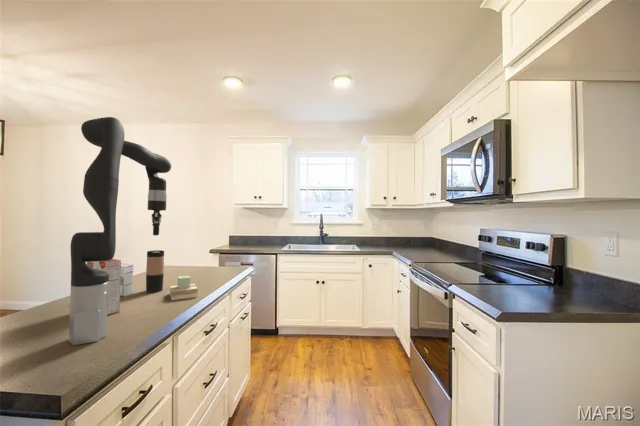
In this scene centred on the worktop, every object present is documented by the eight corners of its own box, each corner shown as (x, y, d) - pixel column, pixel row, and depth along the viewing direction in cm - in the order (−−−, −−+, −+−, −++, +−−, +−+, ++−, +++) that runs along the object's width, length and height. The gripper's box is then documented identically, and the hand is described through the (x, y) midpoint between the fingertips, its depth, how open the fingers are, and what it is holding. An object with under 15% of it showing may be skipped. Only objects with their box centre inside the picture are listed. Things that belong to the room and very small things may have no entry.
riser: (197, 297, 131) (197, 288, 131) (171, 300, 126) (171, 291, 126) (194, 291, 141) (194, 283, 141) (170, 294, 135) (170, 285, 135)
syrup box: (133, 293, 135) (134, 263, 135) (123, 296, 129) (124, 265, 129) (122, 292, 135) (123, 262, 136) (112, 295, 130) (113, 265, 130)
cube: (190, 288, 132) (190, 277, 132) (178, 289, 130) (178, 278, 130) (188, 285, 136) (189, 275, 136) (177, 286, 134) (177, 276, 134)
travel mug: (146, 289, 142) (148, 250, 142) (163, 288, 145) (165, 250, 145) (144, 293, 135) (145, 252, 135) (162, 292, 138) (163, 252, 138)
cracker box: (84, 310, 111) (86, 257, 111) (101, 305, 116) (103, 256, 116) (102, 317, 104) (104, 261, 104) (120, 312, 109) (121, 259, 110)
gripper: (166, 200, 125) (165, 235, 125) (166, 201, 138) (165, 233, 137) (146, 199, 121) (145, 235, 121) (148, 200, 134) (147, 233, 134)
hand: (156, 234), depth 129 cm, fingers open, 8 cm apart
